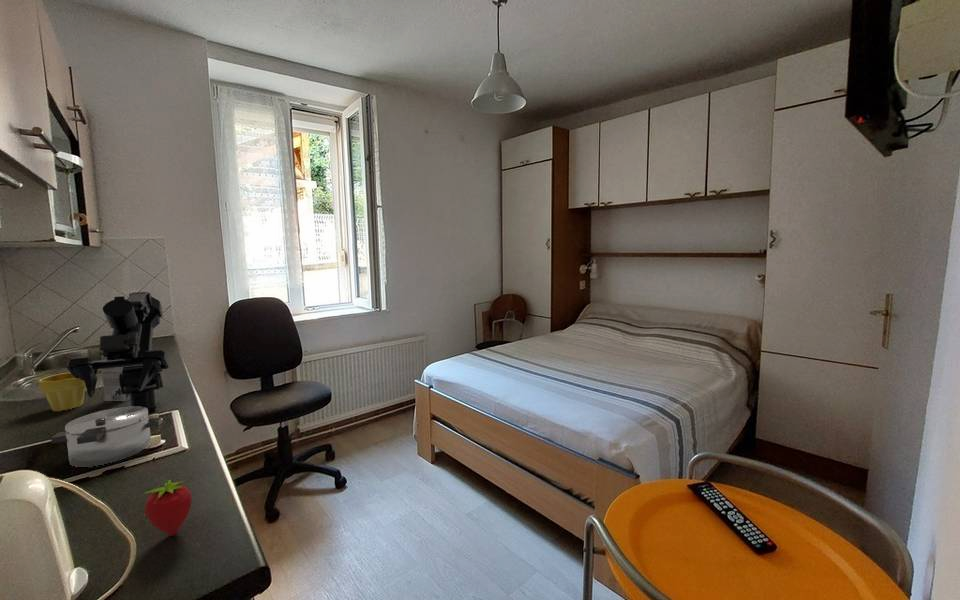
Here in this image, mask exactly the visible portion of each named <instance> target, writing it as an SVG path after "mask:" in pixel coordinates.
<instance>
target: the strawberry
mask: <svg viewBox="0 0 960 600" xmlns="http://www.w3.org/2000/svg"><path fill="white" fill-rule="evenodd" d="M158 478H160V479H162V480H164V481H166V482H165V483H164V484H163V486H162V487H156V488H152V489H151V490H148V491H146V492H143V495H146V494H151V495H150V496H149V497H148V499H147V500H146V502H145V507H144V514H145V515H146V518H147V520H148V521H149V523H150V524H151V525H152V526H154V528H155V529H158V530H159V531H161V532H163V533H165V534H167V535H168V536H171V537H174V536H176V535H177V534H178V532H179V531H180V529H181V527H182V525H183V524H184V523H185V520H186V519H187V517H188V516H189V513H190V511H191V507H192V502H193V501H192V500H193V496H192V493H191V491H190V489H189V488H188V487H186V486H185V485H182V483H185V482H186V481H187V480H183V481H182V480H181V481H177V482H171V481H172V480H171V479H166V478H163V477H161V476H160V477H158Z"/></svg>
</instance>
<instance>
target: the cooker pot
mask: <svg viewBox="0 0 960 600" xmlns="http://www.w3.org/2000/svg"><path fill="white" fill-rule="evenodd" d="M149 417H150V415H148V416H147V417H146V418H144V419H143V420H141V421H139V422H137V423H134V424H132V425H129V426H126V427H123V428H119V429H115V430H111V431H107V432H106V433H105V434H104V435H103V436H102V437H101V438H100V439H99V440H98V441H95V442H89V443H83V444H77V438H78V437H79V436H80V435H70V434H67V433H66V432H65V431H60V432H57V433H55V434H54V435H53V436H52V437H51V438H50V440H51V444H56V443H61V442H62V443H63V442H66V447H67V453H68V461H69V465H70V466H71V465H72V466H71V467H73V466H75V467H74V468H77V467H88V468H94V467H93V466H96V467H99V466H98V465H102V466H105V465H104V464H107V463H111V464H113V463H112V462H115V461H118V460H122V459H125V458H127V457H130V456H132V455H134V454H137V453H139V452H140V451H142V450H143V449H145V448H146V447H147V445H148V444H149V442H150V440H151V441H152V436H151V435H152V434H151V429H150V428H154V427H155V428H156V427H160V426H161V424H162V422H163V419H162V416H160V417H159V416H158V417H151V418H149ZM139 454H140V453H139ZM137 455H138V454H137ZM130 458H131V457H130ZM127 459H128V458H127ZM125 460H126V459H125ZM122 461H123V460H122ZM118 462H119V461H118ZM115 463H116V462H115ZM107 465H108V464H107Z"/></svg>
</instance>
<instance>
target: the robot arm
mask: <svg viewBox="0 0 960 600" xmlns="http://www.w3.org/2000/svg"><path fill="white" fill-rule="evenodd" d="M102 312H103V314H104V316H105V318H106V321H107V323H108V326H109V327H110V328H111V329H112V333H111V334H110V335H101V336H99V350H100V351H101V352H103V356H104V357H107V360H101V361H100V360H94V358H92V356H91V355H90V356H88V355H87V356H79V357H76V356H75V357H71V358H70V359H69V360H67V362H66V369H67V370H68V372H71V374H72V375H73V376H74V377H75V378H78V379H81V380H83V381H85V385H86V388H85V389H86V392H87V395H88V397H89V398H93V396H94V394H95V391H96V386H97V382H98V376H97V375H98V372H99V370H101V369H104V368H114V367H123V370H122V373H120V375H119V382H120V387H121V391H122V395H123V394H128V393H130V400H129V401H130V406H140V407H145V408H147V409H148V413H152V412H153V413H154V412H156V411H157V410H158V409H159V408H160V406H161V403H160V402H159V403H157V397H156V396H157V395H156V390H160V389H161V388H163V387H164V384H163V383H164V382H163V377H162V375H161V372H163V370H167V369H169V367H170V358H169V357H168V354H167V351H165V349H153V350H152V347H153V335H154V329H155V328H156V327H157V326H159V325H160V323H161V318H163V316H164V315H163V313H164V312H163V307H162V303H161V301H160V300H158V299H157V298H155V297H153V296H152V294H151V292H148V291H136V292H132V293H129V294H128V297H127V298H126V297H125V296H124V295H122V296H114V297H113V300H110V301H108V302H106V303H105V304H104V305H103V307H102Z"/></svg>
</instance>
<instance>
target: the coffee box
mask: <svg viewBox="0 0 960 600" xmlns="http://www.w3.org/2000/svg"><path fill="white" fill-rule="evenodd" d="M101 360H107V357H104V356H103V351H101V352H99V361H101ZM100 370H101V376H102V385H103V393H104V402H105V401H122V402H128V401H131V400H130V393H128V394H123V395H122V391H121V387H120V382H119V375H120V373H122V370H123V367H114V368H104V369H100Z"/></svg>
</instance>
